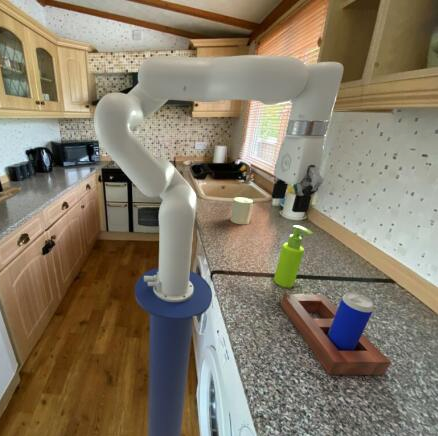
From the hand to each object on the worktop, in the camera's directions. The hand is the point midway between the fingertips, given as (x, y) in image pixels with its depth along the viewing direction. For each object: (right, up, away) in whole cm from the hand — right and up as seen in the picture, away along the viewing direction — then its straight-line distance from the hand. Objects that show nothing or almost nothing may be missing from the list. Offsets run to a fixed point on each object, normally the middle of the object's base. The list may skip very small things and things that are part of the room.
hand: (287, 204), depth 59 cm
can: (+14, -5, +67) cm, 69 cm away
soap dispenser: (+11, -25, +20) cm, 34 cm away
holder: (+10, -32, +1) cm, 34 cm away
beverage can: (+10, -34, -3) cm, 36 cm away
